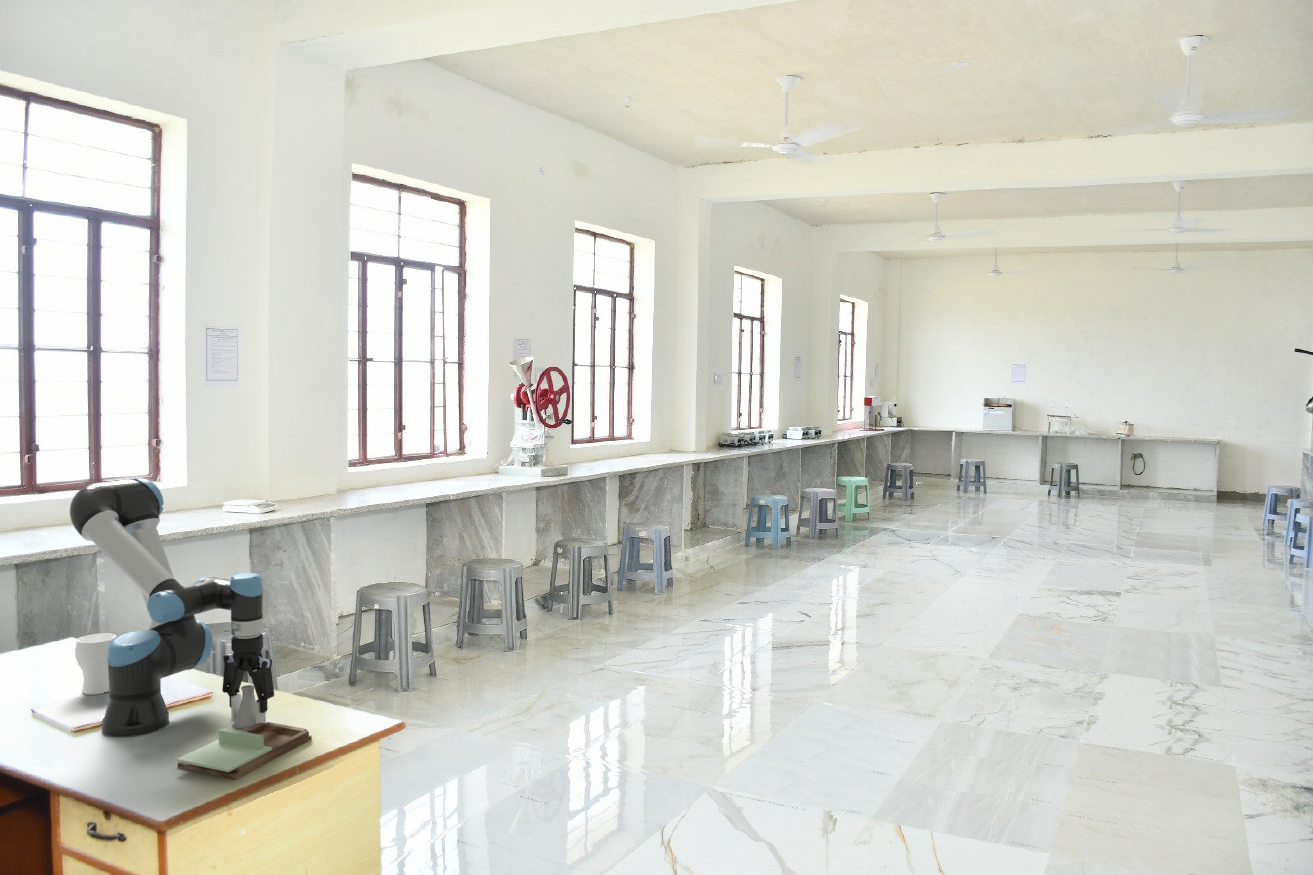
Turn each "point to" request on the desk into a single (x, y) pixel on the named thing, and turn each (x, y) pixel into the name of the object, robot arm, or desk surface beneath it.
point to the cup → (94, 661)
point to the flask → (246, 709)
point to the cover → (227, 751)
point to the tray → (274, 736)
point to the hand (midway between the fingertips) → (248, 722)
